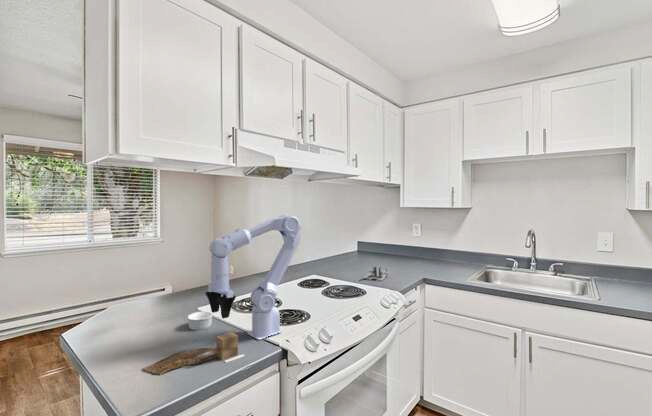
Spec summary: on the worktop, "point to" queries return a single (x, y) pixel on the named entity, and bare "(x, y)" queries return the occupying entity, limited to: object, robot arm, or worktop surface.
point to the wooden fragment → (179, 361)
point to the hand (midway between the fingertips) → (220, 314)
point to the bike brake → (374, 271)
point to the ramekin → (200, 320)
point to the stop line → (234, 358)
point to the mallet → (223, 347)
